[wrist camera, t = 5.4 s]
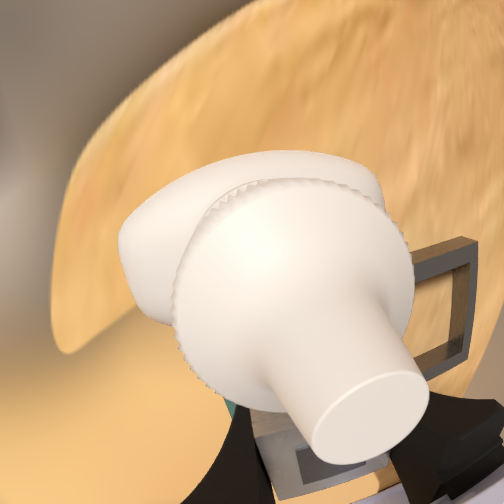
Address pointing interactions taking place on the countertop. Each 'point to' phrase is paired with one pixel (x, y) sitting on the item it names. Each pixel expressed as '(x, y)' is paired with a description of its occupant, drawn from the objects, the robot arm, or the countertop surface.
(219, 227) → the eye dropper bottle
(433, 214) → the countertop surface
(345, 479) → the block
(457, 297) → the grey flat frame
